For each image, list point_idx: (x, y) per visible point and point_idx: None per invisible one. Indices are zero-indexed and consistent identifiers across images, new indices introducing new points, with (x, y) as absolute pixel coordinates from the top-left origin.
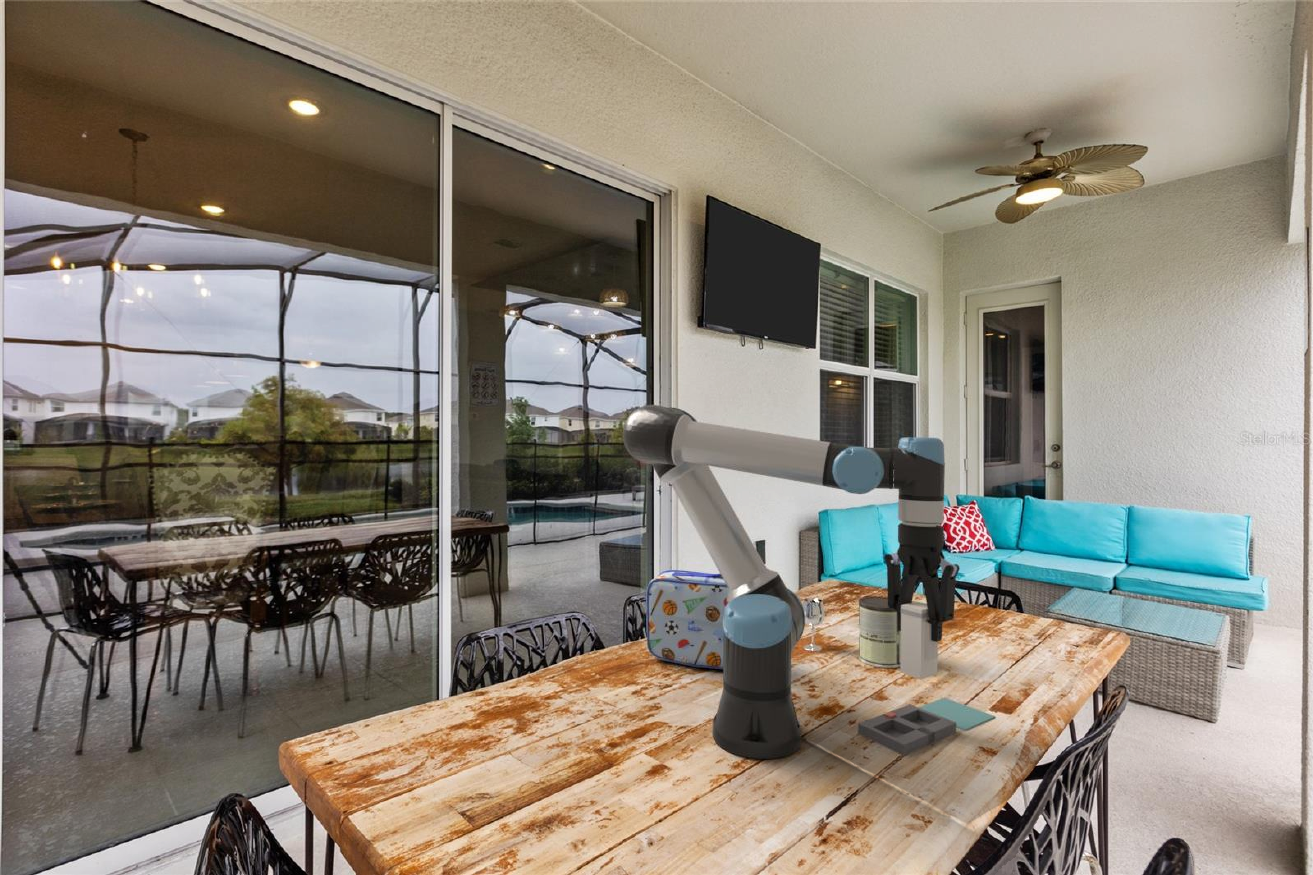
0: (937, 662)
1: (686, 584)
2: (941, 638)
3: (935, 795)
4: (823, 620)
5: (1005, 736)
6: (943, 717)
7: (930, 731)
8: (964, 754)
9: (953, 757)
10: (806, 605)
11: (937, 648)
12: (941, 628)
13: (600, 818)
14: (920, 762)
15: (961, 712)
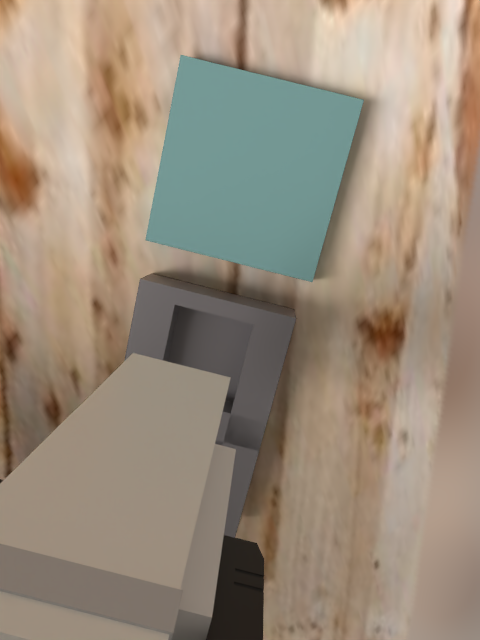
0: (225, 398)
1: None
2: (261, 560)
3: (336, 605)
4: None
5: (405, 200)
6: (235, 239)
7: (257, 427)
8: (338, 394)
9: (320, 428)
10: None
11: (230, 477)
12: (261, 626)
13: None
14: (267, 500)
15: (267, 154)
